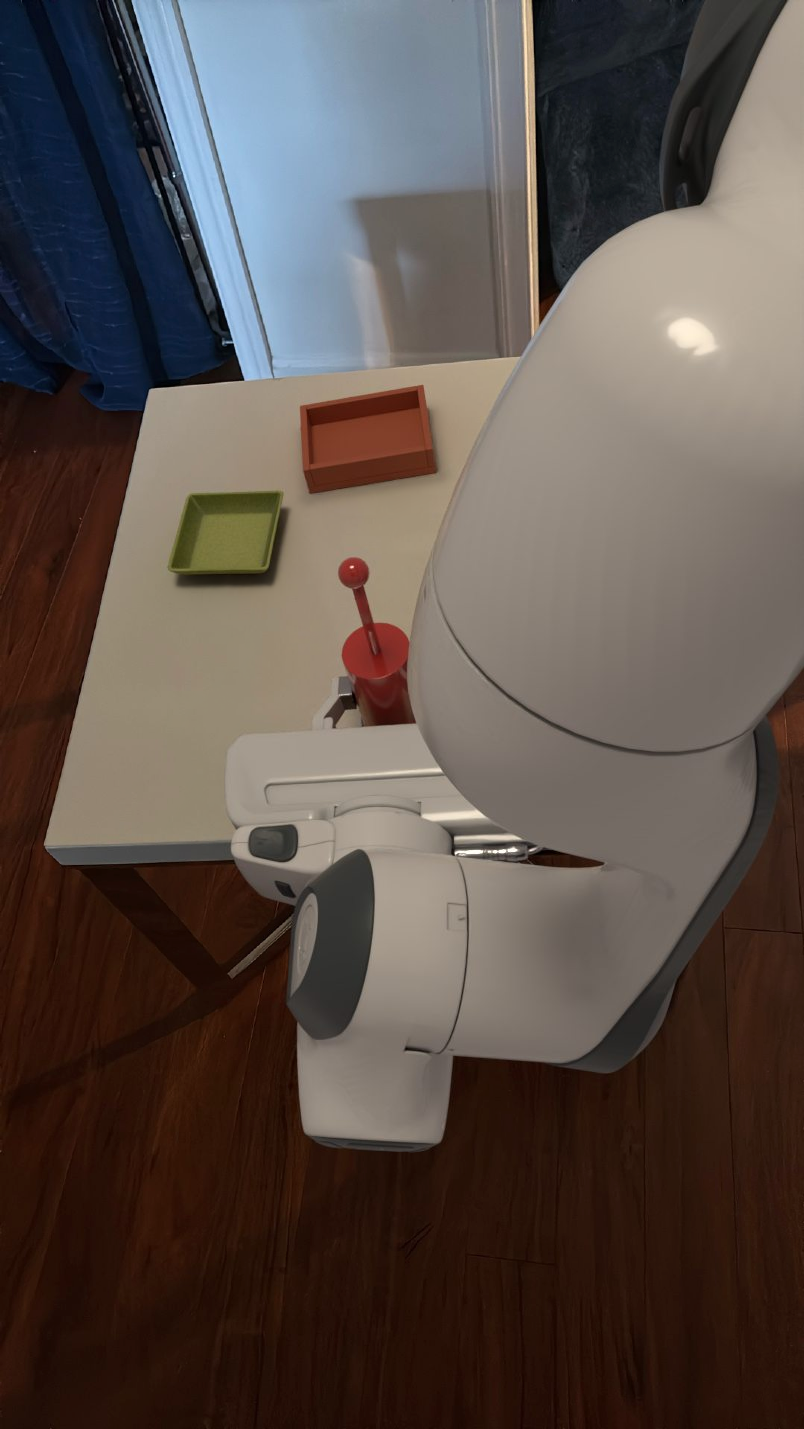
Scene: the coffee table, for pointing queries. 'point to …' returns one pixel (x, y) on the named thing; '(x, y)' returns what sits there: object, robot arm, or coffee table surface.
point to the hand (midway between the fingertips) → (386, 678)
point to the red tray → (366, 439)
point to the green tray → (226, 533)
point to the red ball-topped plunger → (375, 658)
